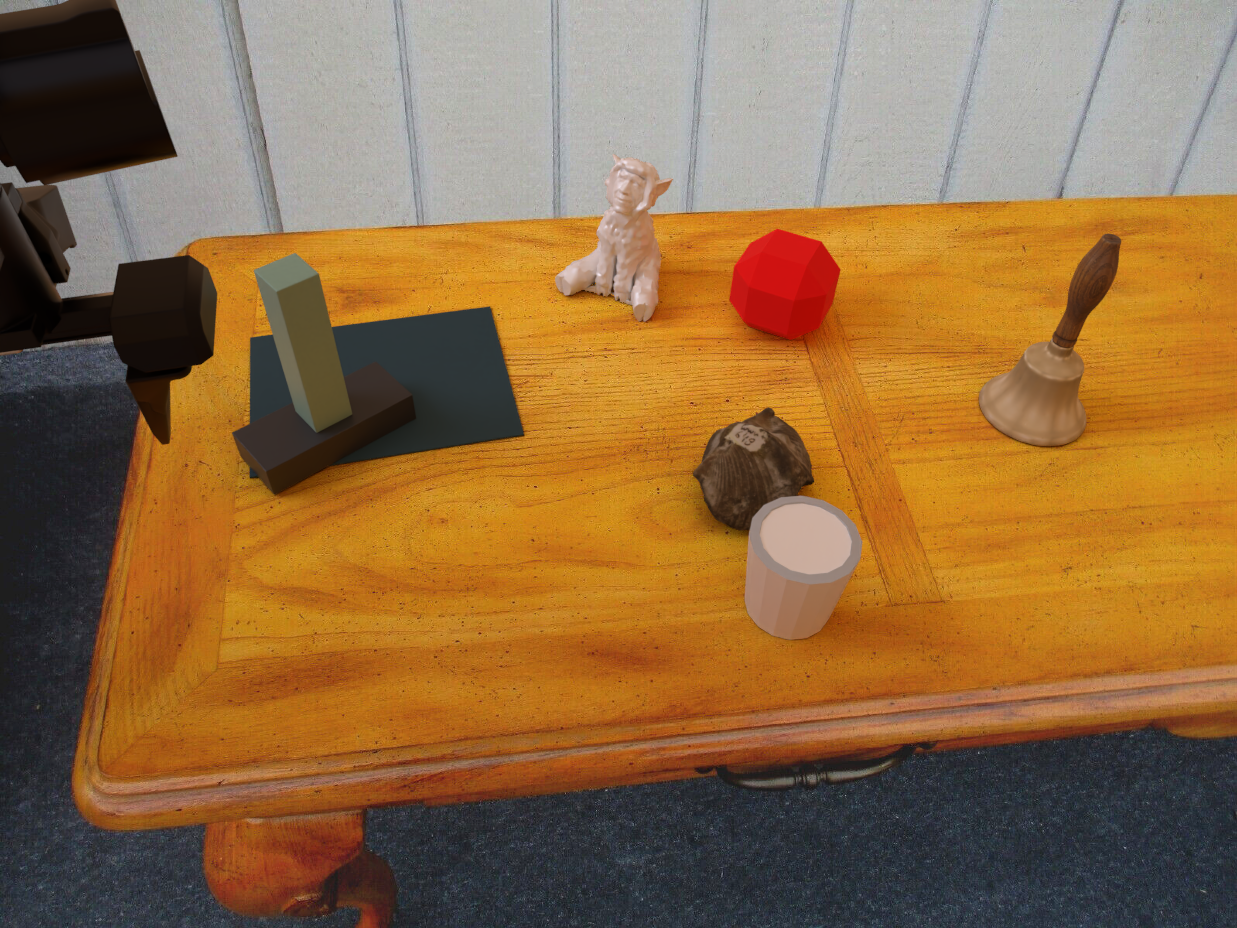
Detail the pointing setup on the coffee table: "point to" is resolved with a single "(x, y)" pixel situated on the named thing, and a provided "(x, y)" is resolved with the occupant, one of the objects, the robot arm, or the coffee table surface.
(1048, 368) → the hand bell
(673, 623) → the coffee table surface
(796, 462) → the fossilized seashell
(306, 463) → the wiper
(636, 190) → the white creature statuette
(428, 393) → the cloth mat
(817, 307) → the ball
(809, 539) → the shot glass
